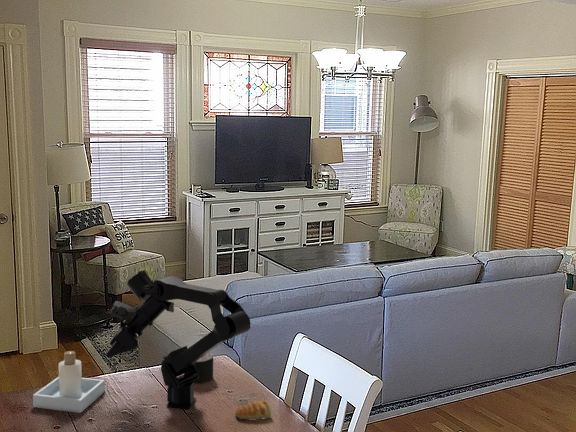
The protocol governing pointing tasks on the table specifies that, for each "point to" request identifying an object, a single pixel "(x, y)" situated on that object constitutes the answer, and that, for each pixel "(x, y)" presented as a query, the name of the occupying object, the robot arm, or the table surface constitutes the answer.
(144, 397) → the table surface
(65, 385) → the dressing bottle
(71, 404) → the bin
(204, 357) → the sushi
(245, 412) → the pastry
